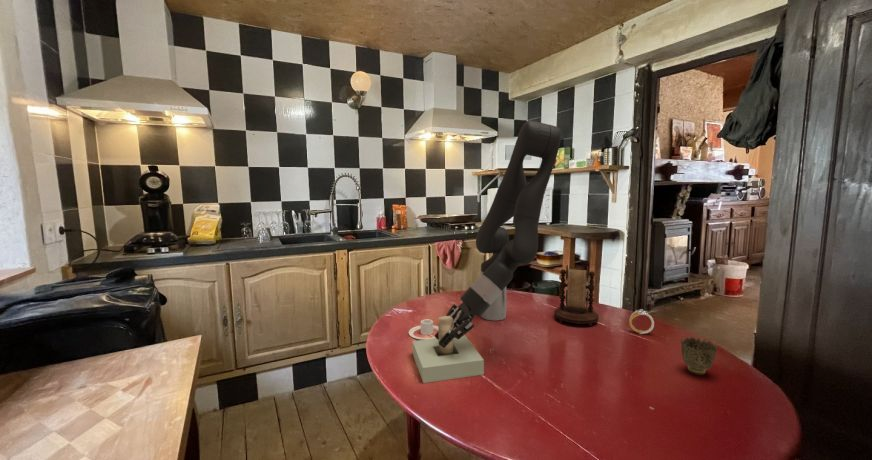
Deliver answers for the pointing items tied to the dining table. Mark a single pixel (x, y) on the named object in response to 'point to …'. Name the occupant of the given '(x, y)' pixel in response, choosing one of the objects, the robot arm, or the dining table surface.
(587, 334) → the dining table surface
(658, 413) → the dining table surface
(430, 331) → the candle holder
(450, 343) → the birch peg
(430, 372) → the square hole plate
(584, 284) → the scroll
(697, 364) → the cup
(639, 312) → the ring
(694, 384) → the dining table surface
